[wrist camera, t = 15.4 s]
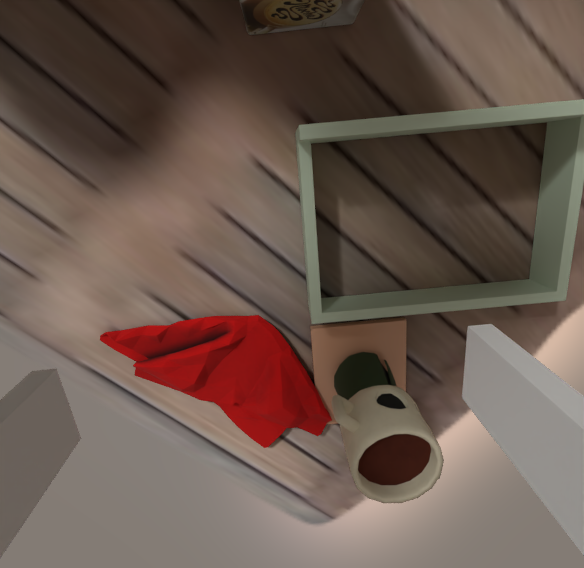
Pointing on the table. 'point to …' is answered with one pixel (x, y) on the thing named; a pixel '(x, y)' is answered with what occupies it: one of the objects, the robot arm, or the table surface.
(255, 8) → the coffee box
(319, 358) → the terracotta tile
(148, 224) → the table surface
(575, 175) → the frame
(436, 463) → the character mug
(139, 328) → the cloth
